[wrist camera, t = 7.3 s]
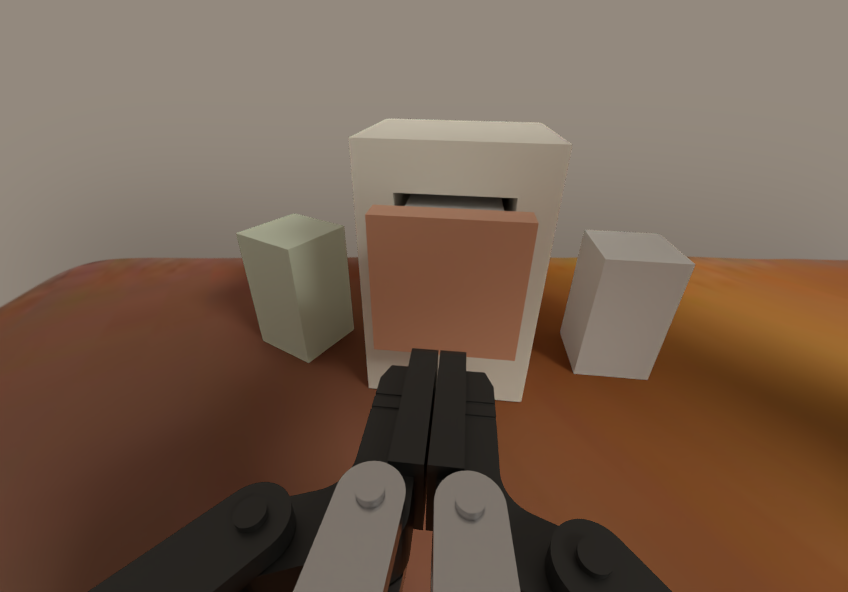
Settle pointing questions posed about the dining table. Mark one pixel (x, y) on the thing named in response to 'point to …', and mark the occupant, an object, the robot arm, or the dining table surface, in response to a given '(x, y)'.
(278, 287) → the sage block
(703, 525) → the dining table surface
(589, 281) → the grey block
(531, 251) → the button
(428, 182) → the cream box with panel
